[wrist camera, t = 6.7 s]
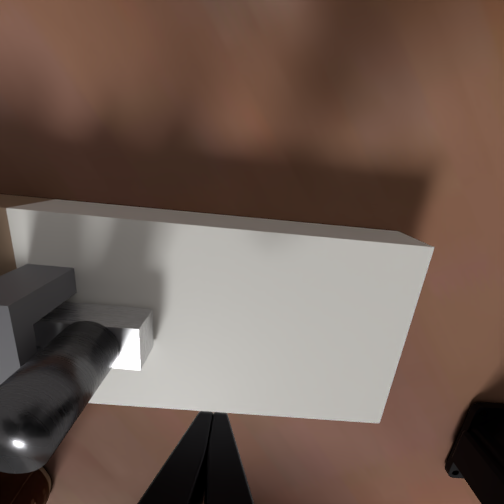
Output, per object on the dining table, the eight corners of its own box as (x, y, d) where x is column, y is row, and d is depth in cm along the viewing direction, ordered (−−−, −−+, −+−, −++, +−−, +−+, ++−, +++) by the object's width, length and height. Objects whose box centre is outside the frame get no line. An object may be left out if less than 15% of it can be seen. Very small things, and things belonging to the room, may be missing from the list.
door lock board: (398, 231, 15) (504, 278, 8) (358, 381, 18) (415, 495, 11) (-65, 187, 14) (-315, 206, 8) (-23, 352, 17) (-179, 459, 11)
